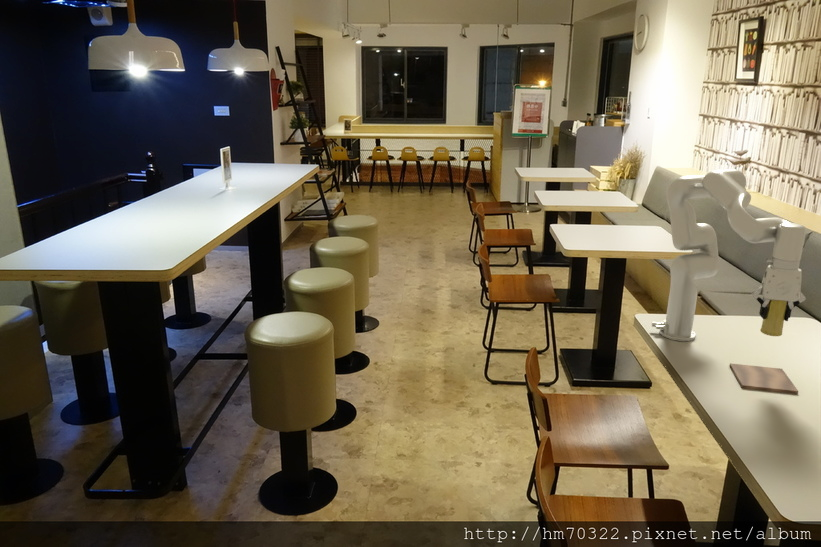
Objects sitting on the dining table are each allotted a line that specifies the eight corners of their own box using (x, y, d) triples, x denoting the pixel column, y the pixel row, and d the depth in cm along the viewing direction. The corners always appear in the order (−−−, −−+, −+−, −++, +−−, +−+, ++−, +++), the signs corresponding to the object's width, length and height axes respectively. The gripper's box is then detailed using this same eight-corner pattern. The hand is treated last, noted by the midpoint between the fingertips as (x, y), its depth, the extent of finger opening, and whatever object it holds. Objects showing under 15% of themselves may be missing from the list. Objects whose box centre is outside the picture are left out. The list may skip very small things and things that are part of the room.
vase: (784, 337, 195) (794, 294, 191) (763, 335, 196) (772, 292, 192) (778, 329, 201) (786, 287, 196) (757, 328, 202) (765, 286, 198)
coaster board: (741, 387, 198) (742, 385, 197) (729, 366, 213) (730, 363, 212) (797, 394, 194) (798, 391, 194) (781, 371, 209) (782, 368, 209)
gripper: (757, 264, 190) (747, 320, 195) (820, 269, 186) (808, 325, 192) (750, 258, 197) (741, 311, 202) (811, 262, 193) (800, 316, 199)
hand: (774, 318), depth 197 cm, fingers closed on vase, 5 cm apart
